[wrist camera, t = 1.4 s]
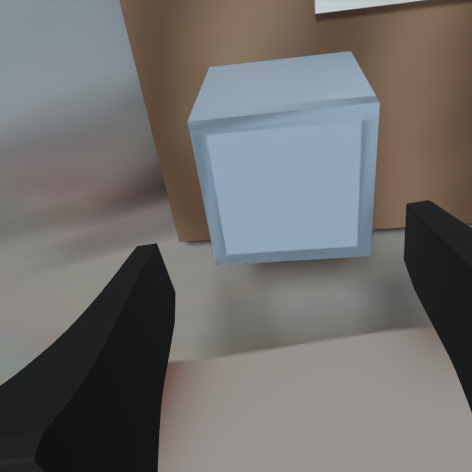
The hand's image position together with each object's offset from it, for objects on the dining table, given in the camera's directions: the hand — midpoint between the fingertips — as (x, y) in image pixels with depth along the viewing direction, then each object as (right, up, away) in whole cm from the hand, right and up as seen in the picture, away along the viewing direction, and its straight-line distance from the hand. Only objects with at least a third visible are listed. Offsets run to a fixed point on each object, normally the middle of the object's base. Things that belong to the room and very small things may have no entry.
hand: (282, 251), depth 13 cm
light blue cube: (+1, +5, +7) cm, 9 cm away
